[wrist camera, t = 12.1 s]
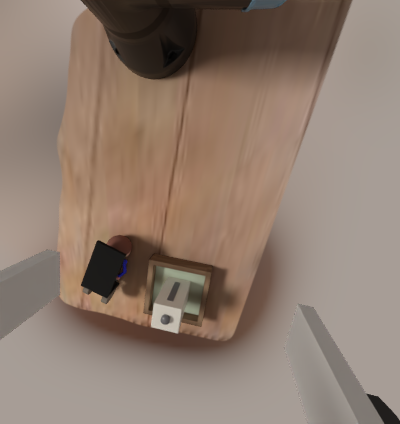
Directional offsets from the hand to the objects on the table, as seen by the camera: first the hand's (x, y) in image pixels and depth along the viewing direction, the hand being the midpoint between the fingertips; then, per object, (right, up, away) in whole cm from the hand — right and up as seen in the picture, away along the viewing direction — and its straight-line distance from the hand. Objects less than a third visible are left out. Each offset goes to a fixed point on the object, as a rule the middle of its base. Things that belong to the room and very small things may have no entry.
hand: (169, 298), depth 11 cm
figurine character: (-17, -7, +36) cm, 40 cm away
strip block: (-3, -12, +34) cm, 36 cm away
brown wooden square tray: (-3, -12, +35) cm, 37 cm away
